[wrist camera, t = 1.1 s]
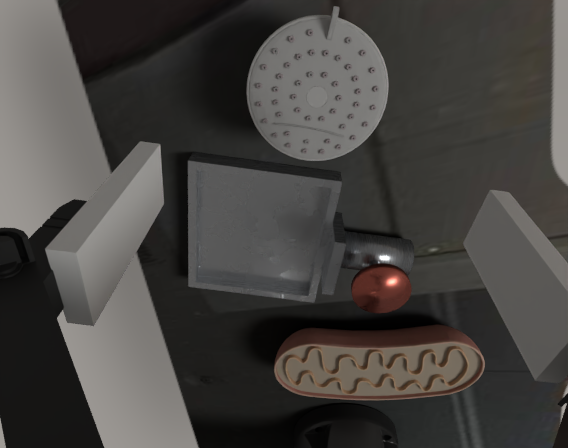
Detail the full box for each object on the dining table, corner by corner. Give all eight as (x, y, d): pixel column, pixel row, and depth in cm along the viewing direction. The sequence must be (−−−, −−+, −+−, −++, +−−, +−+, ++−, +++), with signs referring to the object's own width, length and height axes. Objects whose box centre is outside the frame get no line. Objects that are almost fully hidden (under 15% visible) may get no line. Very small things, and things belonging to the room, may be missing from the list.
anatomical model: (474, 306, 44) (492, 341, 40) (460, 363, 49) (475, 399, 45) (273, 311, 46) (270, 345, 41) (280, 366, 51) (278, 401, 47)
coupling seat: (193, 274, 43) (174, 324, 37) (193, 151, 35) (169, 189, 29) (384, 298, 43) (397, 352, 37) (425, 183, 36) (451, 227, 29)
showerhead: (416, 23, 22) (367, 177, 28) (392, 13, 29) (355, 141, 34) (255, -10, 22) (236, 153, 27) (266, -12, 28) (249, 121, 33)
